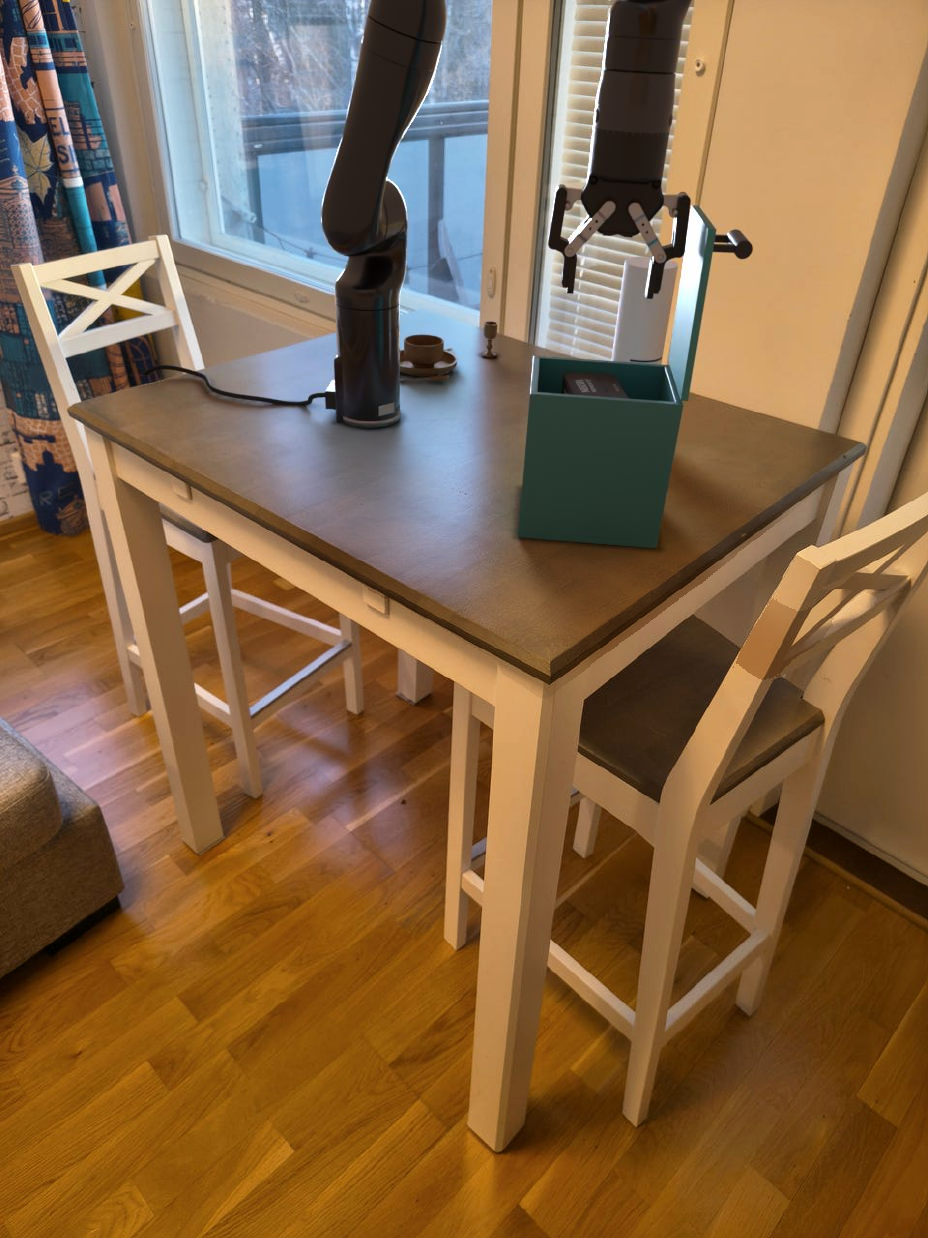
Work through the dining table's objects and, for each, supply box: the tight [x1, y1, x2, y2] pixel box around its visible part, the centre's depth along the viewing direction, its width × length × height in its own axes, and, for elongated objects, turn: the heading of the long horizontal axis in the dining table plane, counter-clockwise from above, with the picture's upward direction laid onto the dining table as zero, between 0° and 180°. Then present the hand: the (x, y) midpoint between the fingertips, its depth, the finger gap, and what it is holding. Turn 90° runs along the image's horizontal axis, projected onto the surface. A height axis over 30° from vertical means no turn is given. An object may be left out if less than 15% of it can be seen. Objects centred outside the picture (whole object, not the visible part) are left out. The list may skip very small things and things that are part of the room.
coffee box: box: [561, 373, 629, 399], centre depth 107 cm, size 9×6×16 cm
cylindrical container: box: [610, 256, 679, 364], centre depth 127 cm, size 7×7×25 cm
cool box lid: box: [667, 204, 754, 402], centre depth 96 cm, size 17×14×5 cm
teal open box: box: [517, 355, 684, 549], centre depth 107 cm, size 17×14×18 cm
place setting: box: [400, 320, 498, 382], centre depth 155 cm, size 18×20×6 cm
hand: (609, 294), depth 96 cm, fingers open, 8 cm apart
